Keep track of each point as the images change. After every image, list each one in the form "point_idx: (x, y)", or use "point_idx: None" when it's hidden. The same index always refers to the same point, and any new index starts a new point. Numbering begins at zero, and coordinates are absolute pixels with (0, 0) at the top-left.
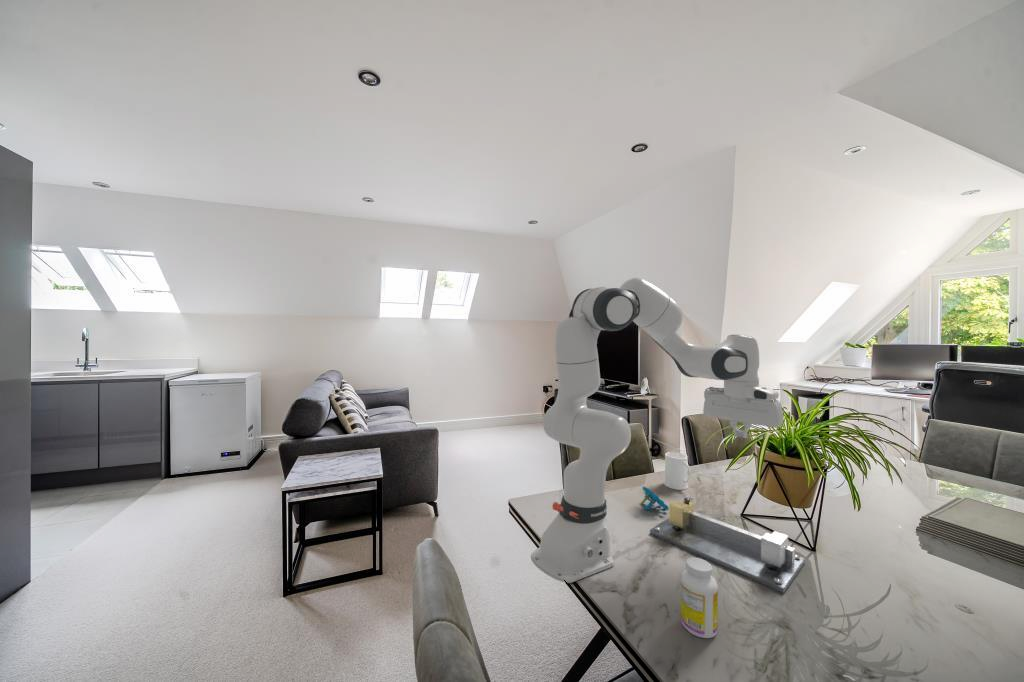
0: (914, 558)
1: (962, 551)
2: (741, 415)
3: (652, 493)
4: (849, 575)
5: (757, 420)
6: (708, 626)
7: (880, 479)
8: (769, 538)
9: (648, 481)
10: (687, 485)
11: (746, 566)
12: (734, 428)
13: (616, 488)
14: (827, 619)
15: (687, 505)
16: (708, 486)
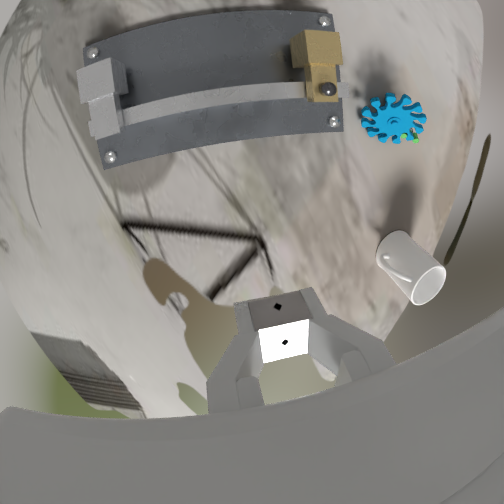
0: (74, 318)
1: (79, 365)
2: (302, 476)
3: (401, 101)
4: (64, 197)
5: (106, 458)
6: None
7: None
8: (99, 72)
9: (429, 222)
10: (378, 261)
11: (144, 43)
12: (329, 326)
13: (452, 145)
14: (38, 59)
15: (309, 57)
16: (351, 295)
